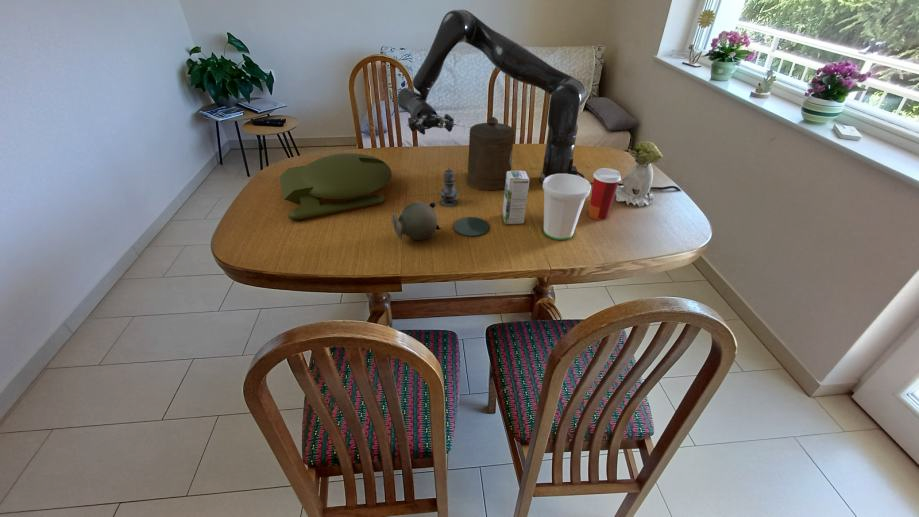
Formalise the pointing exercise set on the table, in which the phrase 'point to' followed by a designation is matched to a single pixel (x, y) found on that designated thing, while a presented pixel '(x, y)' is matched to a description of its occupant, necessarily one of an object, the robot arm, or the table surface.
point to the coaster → (471, 226)
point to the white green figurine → (639, 175)
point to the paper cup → (603, 192)
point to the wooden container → (490, 154)
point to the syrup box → (515, 197)
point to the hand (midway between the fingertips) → (437, 130)
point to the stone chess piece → (449, 190)
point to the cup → (563, 204)
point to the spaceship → (334, 184)
